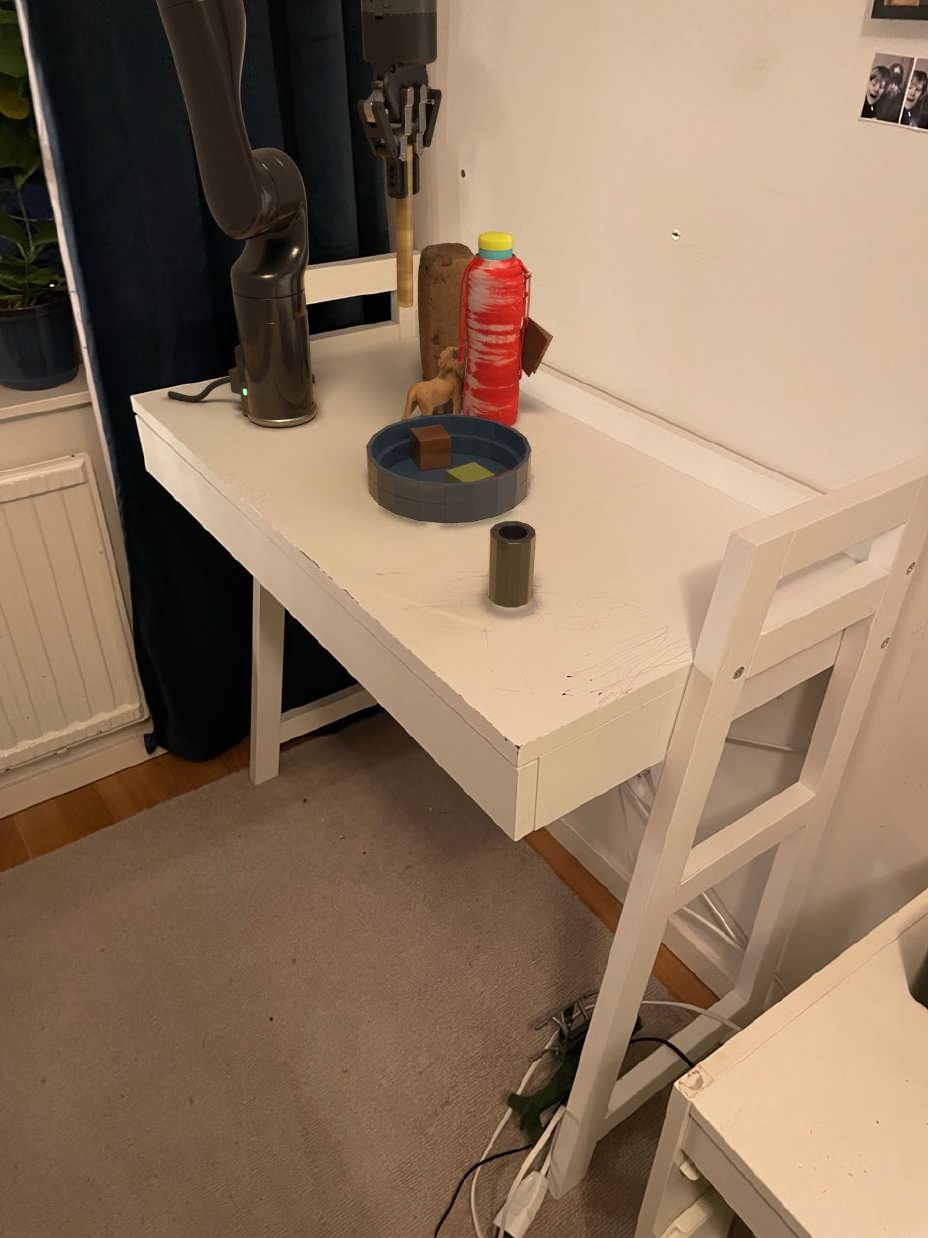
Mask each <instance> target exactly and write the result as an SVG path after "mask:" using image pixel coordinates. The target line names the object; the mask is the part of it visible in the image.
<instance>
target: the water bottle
mask: <svg viewBox="0 0 928 1238" xmlns="http://www.w3.org/2000/svg"><path fill="white" fill-rule="evenodd" d="M514 241H515V240H514V236H513V235H512V234H510V233H508V232H503V231H486V232H484V233H480V234H479V235H478V238H477V247H478V249H477V250H478V252H476V253H474V255H475V256H474V259H473V260H472V261H471V262H470V263H468V265H467V266H466V268H465V270H464V272H463V276H462V280H461V285H460V297H459V309H458V319H459V337H460V340H461V345H460V347H459V351H458V361H461V363H464V356H463V351H464V347H465V346H466V367H465V379H464V391H463V397H462V399H463V413H464V414H463V415H469V416H478V417H482V418H486V419H491V420H495V421H498V422H501V423H503V424H506V425H508V426H510V427H512V426H513V425H514V423H515V421H516V418H517V416H518V413H519V403H520V402H519V401H520V381H521V380H522V379H523V372H524V374H525V375H526V376H527V377H528V378H531V375H532V374H534V375H535V374H536V373H537V371H538V368H539V367H540V365H541V363H542V361H543V358H544V356H545V354H546V352H547V350H548V348H549V347H550V345H551V342H552V341H553V338H554V335H553V334H551V333H550V332H549V331H548V330H546V329H545V328H544V327H542V326H541V325H540V324H539V323H538V322H536V321H535V320H534V319H532V317H530V308H531V289H532V288H531V287H532V280H531V279H532V277H533V276H532V275H533V272H531V271H529V270H528V268H527V267H526V265H524V263H523V261H522V259H520V258H518V257H517V255H516V254H515V253H514V252H513V250H514V249H513V248H514ZM466 272H467V273H466ZM465 274H466V281H465V294H464V313H463V330H462V336H461V302H462V290H463V282H464V278H465ZM465 325H466V344H465V343H464V335H465Z"/></svg>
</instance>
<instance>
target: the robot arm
mask: <svg viewBox="0 0 928 1238" xmlns="http://www.w3.org/2000/svg"><path fill="white" fill-rule="evenodd" d="M155 1H156V5H157V8H158V12H159V15H160V18H161V22H162V25H163V28H164V30H165V34H166V37H167V41H168V43H169V46H170V50H171V54H172V57H173V58H172V59H173V61H174V66H175V69H176V73H177V76H178V80H179V84H180V88H181V93H182V95H183V99H184V104H185V107H186V111H187V114H188V115H187V116H188V119H189V125H190V128H191V134H192V138H193V139H192V140H193V144H194V149H195V150H194V151H195V154H196V160H197V165H198V170H199V175H200V180H201V185H202V188H203V192H204V193H203V194H204V196H205V201H206V203H207V205H208V208H209V211H210V213H211V216H212V217H213V220H214V221H215V222H216V224H217V225H218V227H219V228H220V229H221V230H222V231H223V232H224V233H225V235H227V236H229V237H230V238H232V239H235V240H237V241H246V242H245V246H244V248H243V250H242V252H241V254H240V255H239V257H238V259H236V260H235V262H234V263H233V265H232V266H231V269H230V282H231V283H230V284H231V290H232V299H233V306H234V314H235V319H236V329H237V336H238V343H239V345H237V346H235V347H234V357H235V363H236V364H235V365H236V366H234V367H232V368H231V369H228V376H224V377H221V378H218V379H216V380H214V381H212V382H210V383H209V384H208V385H207V386H206V387H204V389H203V390H202V391H201V392H200V393H198V394H195V395H190V394H189V395H188V394H184V393H180V392H177V391H173V390H169V391H167V397H168V398H172V399H176V400H180V401H183V402H187V403H188V402H189V403H195V402H200V401H202V400H205V398H207V397H208V396H209V394H211V392H212V391H213V390H215V389H216V388H218V387H221V386H224V385H226V384H229V385H230V392H231V393H232V394H236V395H240V402H241V409H242V415H243V416H246V417H248V419H249V420H250V421H251V422H252V423H254V424H256V425H259V426H264V427H269V428H286V427H293V426H298V425H301V424H304V423H307V422H309V421H311V420H312V419H314V418H315V417H316V415H317V404H316V398H315V397H316V396H315V388H314V387H317V386H316V385H317V384H316V383H317V382H316V375H315V374H314V372H313V363H312V351H311V339H310V330H309V319H308V308H307V307H308V306H307V297H306V295H307V294H306V283H305V274H306V271H307V267H308V265H309V264H308V263H309V229H308V227H309V225H308V204H307V195H306V187H305V185H304V181H303V176H302V174H301V172H300V170H299V167H298V166H297V164H296V163H295V161H294V160H293V159H292V158H291V156H289V155H288V153H286V152H284V151H282V150H280V149H278V148H276V147H275V148H274V147H261V148H256V149H253V150H252V147H251V144H250V141H249V138H248V134H247V129H246V126H245V121H244V117H243V116H244V115H243V110H242V103H241V83H242V82H241V81H242V73H243V65H244V58H245V57H244V56H245V49H246V39H247V38H246V37H247V19H246V18H247V17H246V10H245V5H244V1H243V0H155ZM360 13H361V14H360V15H361V16H360V17H361V38H362V56H363V60H364V61H365V62H366V63H368V64H371V65H372V67H373V76H372V81H371V91H372V93H371V94H370V95H369V97H368V98H367V99H359V100H358V101H357V104H356V105H357V107H356V108H357V112H358V115H359V118H360V120H361V123H362V127H363V129H364V132H365V135H366V138H367V141H368V143H369V147H370V150H371V152H372V154H373V155H374V156H379V157H381V158H382V159H383V160H385V167H386V168H385V169H386V171H385V173H386V189H387V191H386V192H387V195H388V197H389V198H391V199H395V198H396V199H404V198H406V197H407V196H408V165H407V161H405V160H406V158H407V144H411V145H412V146H413V196H415V195H417V194H419V193H420V191H421V189H420V188H421V185H420V183H421V182H420V181H421V178H420V171H421V170H420V157H422V156H423V154H424V149H425V148H430V147H431V145H432V142H433V137H434V133H435V128H436V124H437V120H438V116H439V110H440V107H441V103H442V99H443V94H442V90H441V89H439V88H432V87H431V85H429V81H430V80H429V75H428V71H427V65H431V64H434V63H435V62H436V61H437V59H438V0H360ZM391 124H392V125H391ZM395 137H396V138H395ZM380 138H381V140H380ZM396 199H395V200H396Z"/></svg>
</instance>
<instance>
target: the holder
mask: <svg viewBox="0 0 928 1238" xmlns="http://www.w3.org/2000/svg"><path fill="white" fill-rule="evenodd" d="M536 539H537V534H536V529H535V528H534V527H533V526H532V525H530V524H529V523H527V522H523V521H519V520H505V521H500V522H497V523H495V524H494V525H493V526H491V528H490V529H489V547H488V548H489V550H488V551H489V553H488V581H487V585H488V586H487V595H488V600H490V601H491V602H492V603H493V604H494V605H495V606H499V607H502V608H511V609H512V608H520V607H523V606H526V605H528V604H529V603H530V602H531V600H532V599H533V589H534V573H535V558H536V557H535V555H536V554H535V553H536V542H537V540H536Z"/></svg>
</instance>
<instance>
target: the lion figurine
mask: <svg viewBox="0 0 928 1238" xmlns="http://www.w3.org/2000/svg"><path fill="white" fill-rule="evenodd" d="M458 351H459V348H458V347H447V348H446V350H445V351H443V352H442V353H441V354H440V359H439V360H438V365H439V371H438V376H437V377H436V378H434V379H433V380H430V381H425V382H423V381H418V382H415V383H413V384H412V385H411V386H410V388H409V389H408V390H407V395H406V403H405V408H404V412H403V415H402V417H401V418H400V421H401V420H404V419H409V418H411V416H412V414H413V413H414V411H415V410H416V408H417V406H418V408H419V410H420V412H421V415H422V416H425V415H433V412H434V407H436V411H435V412H436V414H437V415H441V414H445V407H444V404H446V403H448V401H450V400H451V401H452V406H453V407H452V408H453V409H452V414H457V415H461V413H460V410H461V405H462V397H461V393H462V392H463V391H464V379H465V367H466V356H465V355H464V353H463V356H464V363H461V361H458Z"/></svg>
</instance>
